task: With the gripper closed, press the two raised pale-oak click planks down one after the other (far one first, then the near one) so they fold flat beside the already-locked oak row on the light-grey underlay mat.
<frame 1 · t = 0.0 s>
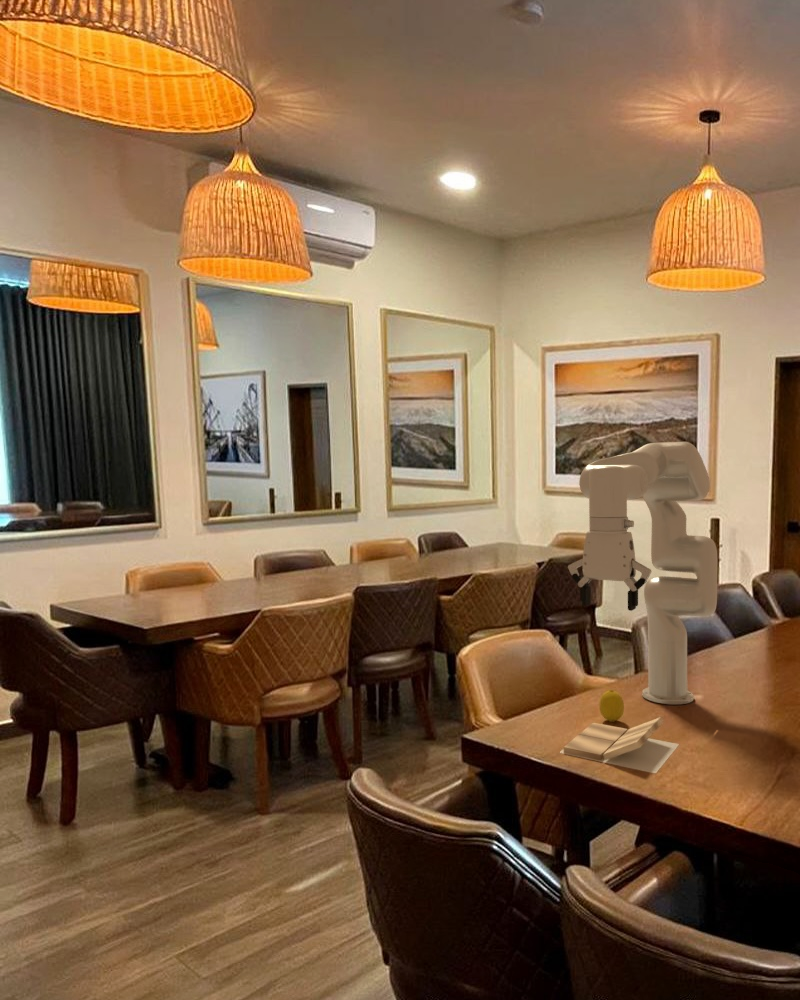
hand: (608, 607, 153), 31 cm above the table, fingers open, 9 cm apart
locked row: (596, 743, 159), resting on underlay mat
lemon: (611, 723, 173), on the table
underlay mat: (619, 750, 156), on the table
plank near: (627, 744, 151), point 3 cm above the table, hinge at 30.0°
plank far: (640, 731, 158), point 3 cm above the table, hinge at 30.0°
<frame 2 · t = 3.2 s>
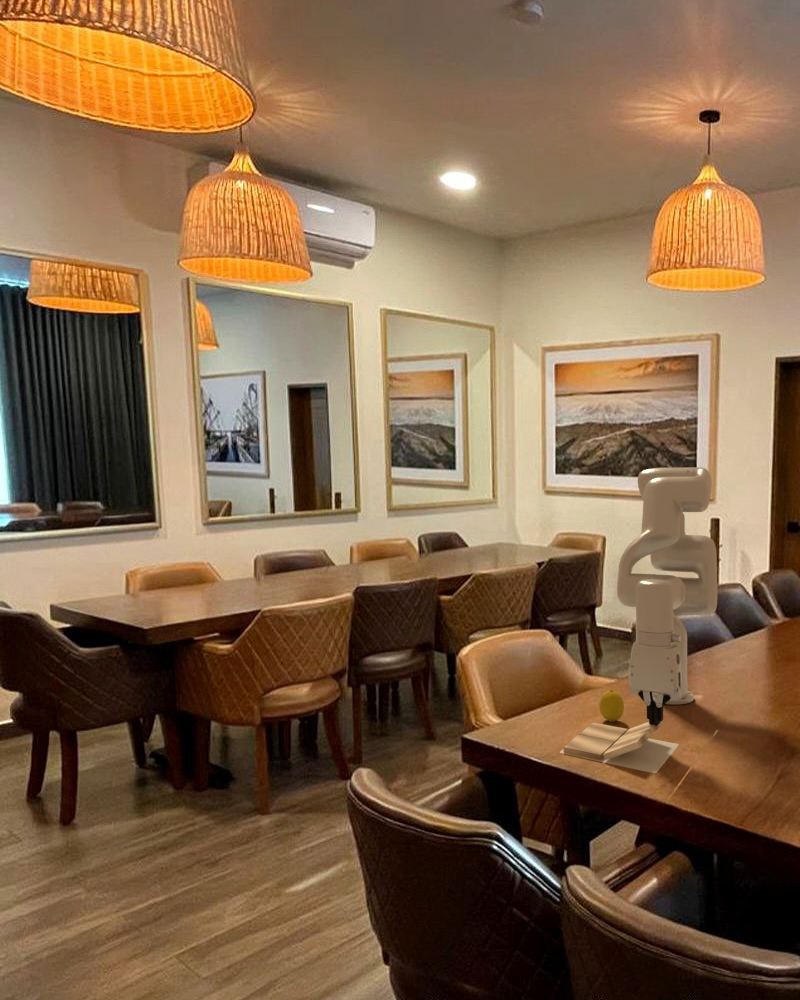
hand: (655, 723, 156), 6 cm above the table, fingers closed
plank far: (640, 731, 158), point 3 cm above the table, hinge at 29.3°, touching gripper
everything else where it was.
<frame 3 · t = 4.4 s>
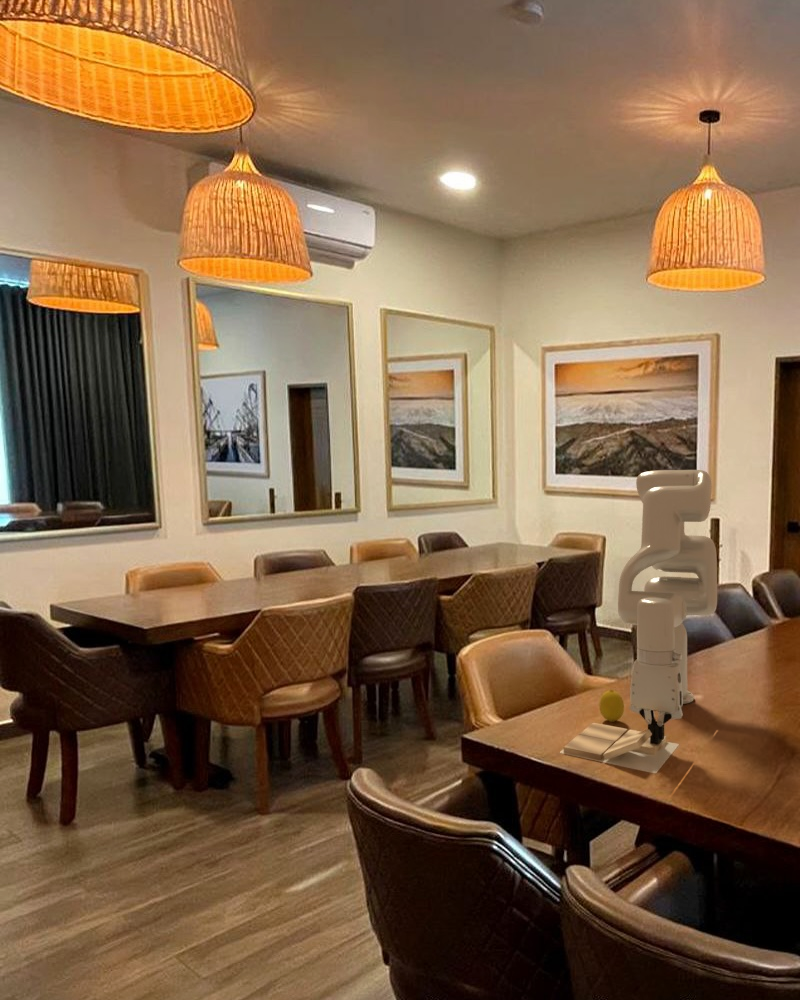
hand: (656, 741, 156), 2 cm above the table, fingers closed
plank far: (642, 741, 158), point 1 cm above the table, hinge at 0.0°, touching gripper, underlay mat
everything else where it was.
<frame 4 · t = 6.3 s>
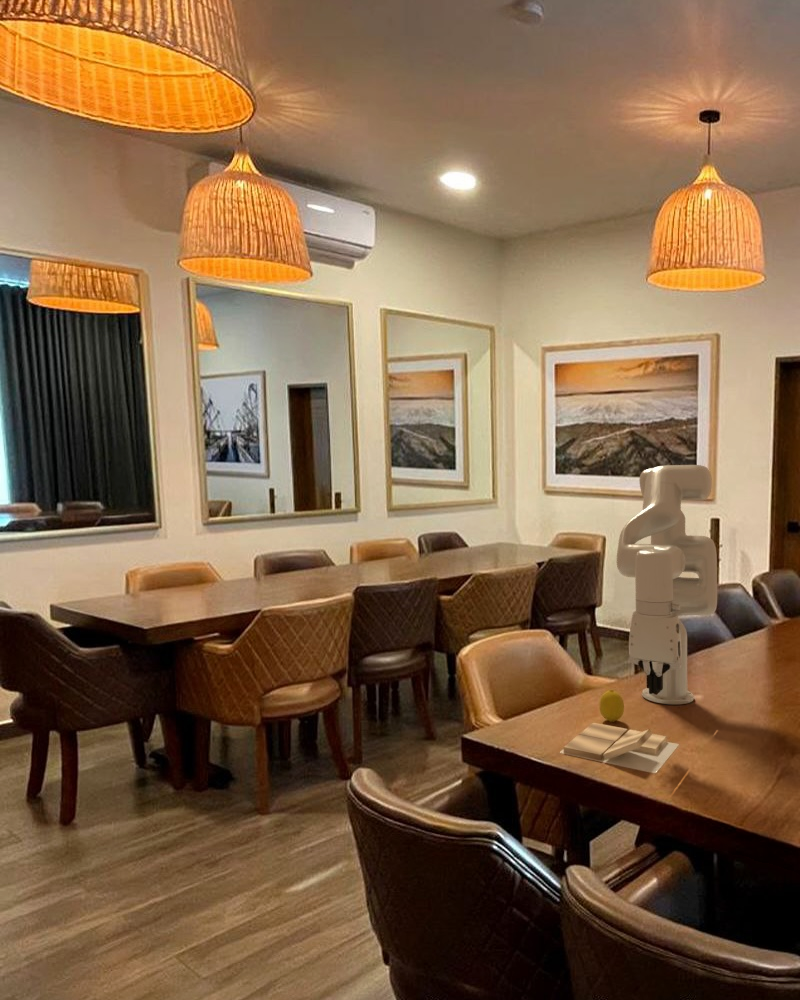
hand: (654, 692, 156), 12 cm above the table, fingers closed
plank far: (642, 741, 158), point 1 cm above the table, hinge at 0.0°, touching underlay mat
everything else where it was.
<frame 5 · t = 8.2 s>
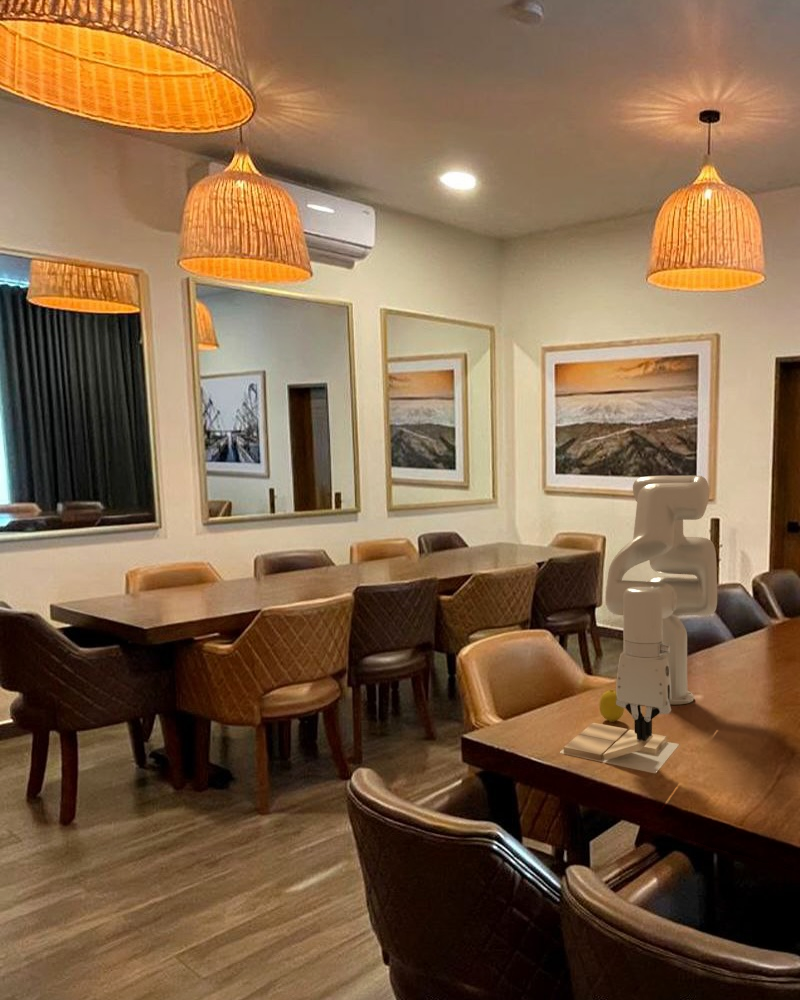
hand: (643, 738, 149), 5 cm above the table, fingers closed
plank near: (628, 745, 151), point 3 cm above the table, hinge at 26.6°, touching gripper
everything else where it was.
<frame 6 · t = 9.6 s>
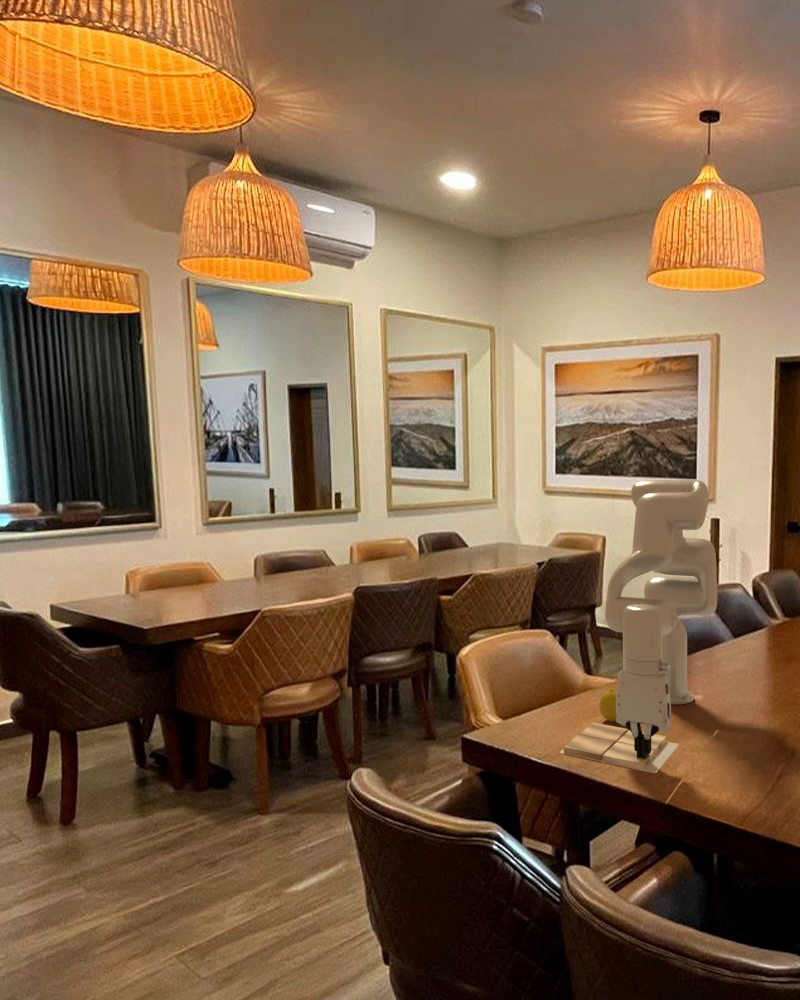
hand: (642, 755, 149), 2 cm above the table, fingers closed
plank near: (629, 755, 151), point 1 cm above the table, hinge at 0.0°, touching gripper, underlay mat
everything else where it was.
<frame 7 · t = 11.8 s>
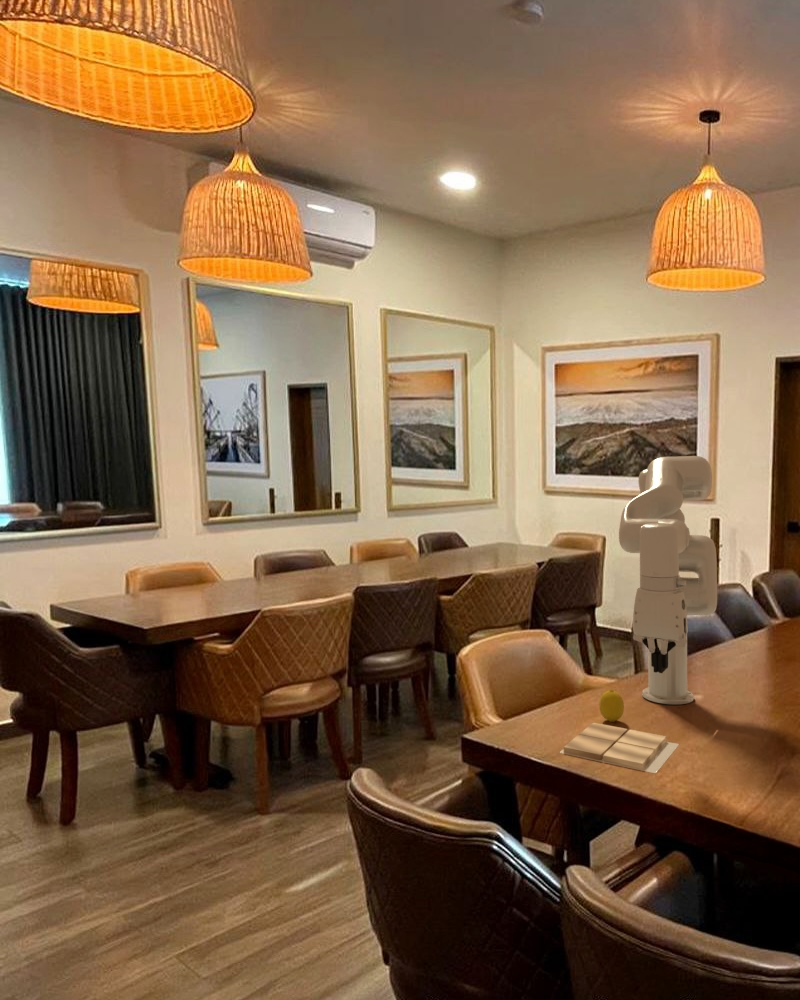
hand: (659, 670, 151), 18 cm above the table, fingers closed
plank near: (629, 755, 151), point 1 cm above the table, hinge at 0.0°, touching underlay mat
everything else where it was.
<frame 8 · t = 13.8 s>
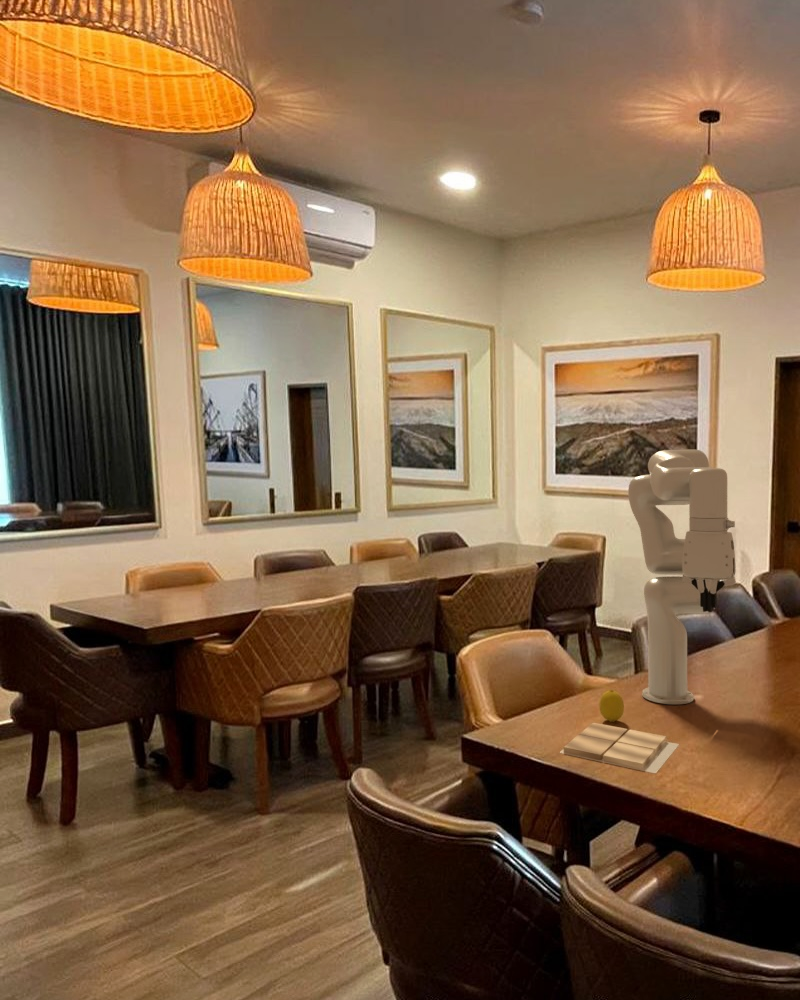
hand: (708, 610, 157), 29 cm above the table, fingers closed
nothing on the table moved.
at the end: plank far at +0° (first picture: +30°); plank near at +0° (first picture: +30°) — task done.
